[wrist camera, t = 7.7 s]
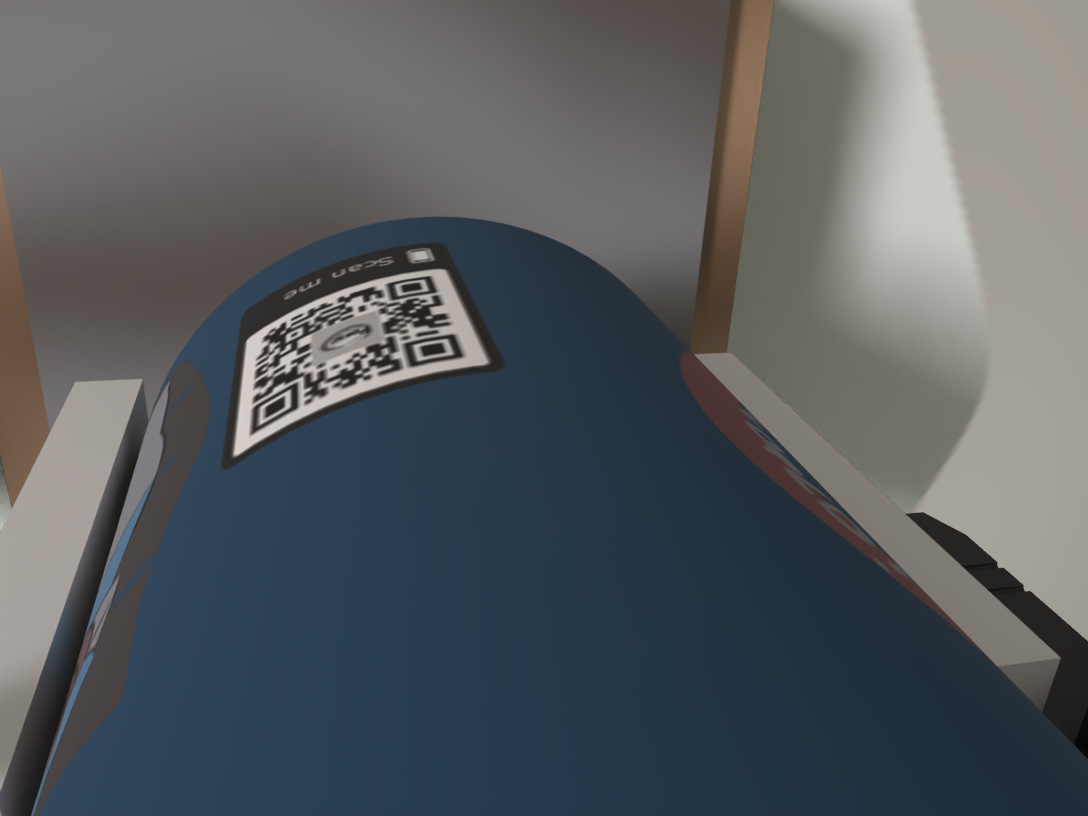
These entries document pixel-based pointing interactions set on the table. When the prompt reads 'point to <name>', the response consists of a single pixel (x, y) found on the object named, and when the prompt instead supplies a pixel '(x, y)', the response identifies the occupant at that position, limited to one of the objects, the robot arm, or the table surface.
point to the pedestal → (347, 158)
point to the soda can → (506, 575)
